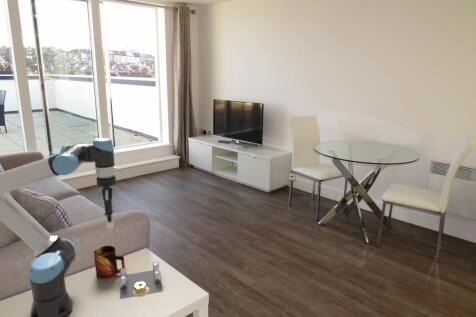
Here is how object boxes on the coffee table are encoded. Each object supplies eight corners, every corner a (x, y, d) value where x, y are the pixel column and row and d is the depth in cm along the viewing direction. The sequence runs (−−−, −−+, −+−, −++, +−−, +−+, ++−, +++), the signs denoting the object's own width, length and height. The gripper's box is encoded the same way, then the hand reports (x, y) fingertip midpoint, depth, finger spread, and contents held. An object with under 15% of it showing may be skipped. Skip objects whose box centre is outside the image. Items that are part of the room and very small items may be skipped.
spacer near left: (120, 289, 152) (119, 280, 151) (120, 285, 155) (119, 276, 154) (127, 288, 153) (126, 278, 152) (127, 284, 156) (126, 275, 155)
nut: (134, 293, 150) (134, 288, 149) (134, 287, 154) (133, 282, 153) (146, 291, 151) (146, 286, 151) (145, 285, 155) (145, 280, 155)
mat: (120, 300, 146) (119, 299, 146) (120, 276, 163) (120, 275, 163) (162, 292, 151) (162, 291, 151) (158, 270, 168) (158, 269, 168)
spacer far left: (120, 280, 159) (119, 271, 157) (120, 277, 162) (119, 267, 160) (127, 279, 160) (126, 270, 158) (127, 276, 162) (126, 266, 161)
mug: (125, 276, 162) (123, 253, 159) (94, 280, 159) (91, 257, 156) (127, 265, 171) (125, 243, 169) (98, 269, 169) (95, 247, 166)
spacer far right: (153, 275, 163) (152, 266, 162) (152, 272, 166) (152, 262, 165) (159, 274, 164) (159, 265, 163) (159, 271, 167) (158, 261, 166)
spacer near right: (154, 284, 157) (154, 274, 156) (154, 280, 160) (153, 270, 158) (161, 282, 158) (160, 273, 156) (160, 279, 160) (160, 269, 159)
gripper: (115, 179, 137) (119, 233, 143) (115, 170, 149) (119, 220, 155) (94, 181, 135) (100, 235, 141) (97, 171, 147) (102, 222, 152)
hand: (110, 227), depth 148 cm, fingers closed
